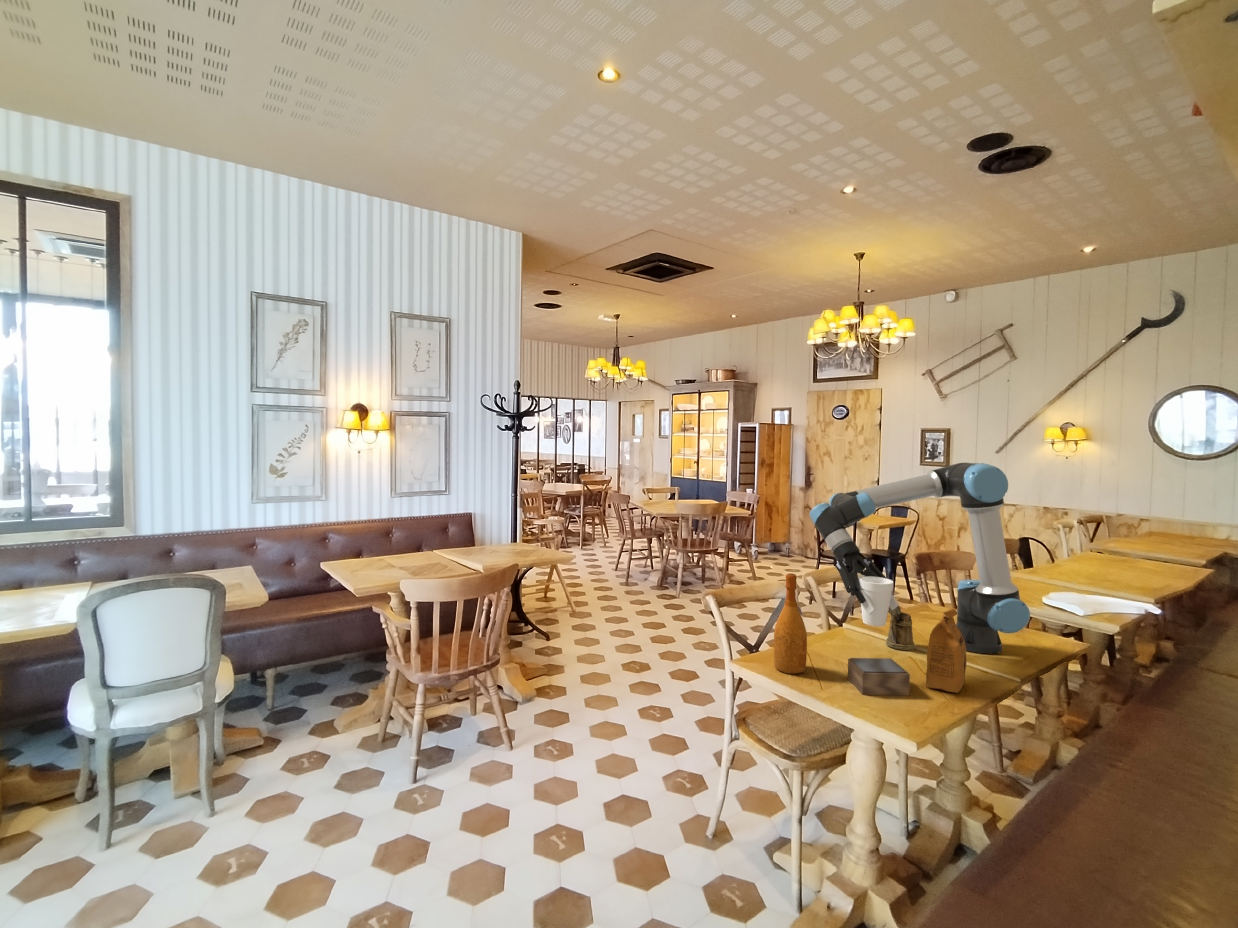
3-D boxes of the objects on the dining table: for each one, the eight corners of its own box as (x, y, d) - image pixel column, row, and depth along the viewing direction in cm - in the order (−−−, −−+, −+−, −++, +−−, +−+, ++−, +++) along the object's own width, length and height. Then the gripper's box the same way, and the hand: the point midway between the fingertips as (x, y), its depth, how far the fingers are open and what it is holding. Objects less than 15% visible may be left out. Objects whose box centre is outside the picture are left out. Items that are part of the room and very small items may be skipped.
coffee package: (971, 684, 168) (973, 610, 167) (959, 697, 160) (961, 619, 159) (934, 674, 175) (936, 603, 174) (920, 687, 167) (922, 611, 166)
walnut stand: (891, 678, 172) (892, 657, 172) (909, 695, 161) (909, 672, 161) (847, 678, 173) (848, 657, 172) (862, 694, 162) (862, 671, 161)
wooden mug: (873, 647, 198) (874, 596, 197) (894, 639, 206) (895, 590, 205) (899, 655, 191) (900, 602, 190) (919, 647, 199) (920, 595, 198)
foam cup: (896, 623, 173) (898, 580, 172) (884, 630, 166) (886, 585, 165) (864, 615, 179) (865, 574, 179) (852, 622, 173) (853, 579, 172)
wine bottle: (801, 677, 173) (803, 578, 171) (769, 670, 178) (770, 574, 177) (809, 667, 181) (811, 572, 180) (778, 660, 186) (780, 568, 185)
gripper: (860, 550, 190) (900, 611, 177) (810, 556, 180) (849, 620, 167) (874, 537, 185) (917, 598, 172) (824, 542, 175) (865, 607, 162)
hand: (883, 609), depth 170 cm, fingers closed on foam cup, 9 cm apart
